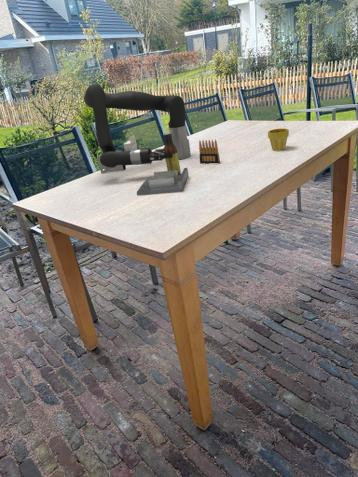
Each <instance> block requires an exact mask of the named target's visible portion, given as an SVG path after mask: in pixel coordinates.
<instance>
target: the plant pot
mask: <svg viewBox="0 0 358 477" xmlns="http://www.w3.org/2000/svg"><path fill="white" fill-rule="evenodd" d="M289 133H290V132H289V128H284V127H283V128H282V127H281V128H273V129H271V130H268V131H267V138H268V139H269V141H270V146H271V147H270V148H271V150H272V149H273V150H272V151H274V150H280V151H283V150H282V149H284V150H285V149H286V146H287V141H288V138H289V135H290V134H289Z"/></svg>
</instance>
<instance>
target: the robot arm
mask: <svg viewBox="0 0 358 477" xmlns="http://www.w3.org/2000/svg"><path fill="white" fill-rule="evenodd" d="M83 101H84V103H85V105H87V107H89V108H91V109H93V116H94V125H95V126H94V127H95V128H94V129H95V134H96V138H97V143H98V147H99V148H100V149H101V151H102V155H101V154H100V155H101V156H100V162H101V164H102V165H104V166H106V167H110V168H114V167H116V166H117V165H125V166H134V165H135V166H138V165H149V164H153V162H159V161H161V162H162V161H163V160H165V159H166V158H172V157H173V154H172V153H165V154H164V147H162V148H156V149H154V151H152V148H150V147H143V148H137V149H134V150H128V151H125V150H120V151H121V152H116V148H115V146H114V142H113V137H112V133H111V130H110V129H111V128H110V125H109V120H108V113H107V112H108V111H107V109H118V110H125V111H126V110H127V111H139V112H141V111H142V112H146V111H147V112H148V111H160V112H165V113H168V114H169V121H168V124H167V125H168V131H169V132H168V133H171V134H172V141H173V144H174V146H175V147H176V149H177V153H178V159H179V160H184V159H188V158H189V157H192V155H191V147H190V139H189V138H188V134H187V128H186V120H187V115H186V114H187V113H186V107H185V101H184V99H183V97H181V96H180V95H177V94H175V95H173V94H172V95H169V94H168V95H154V94H151V93H148V92H143V91H134V90H128V91H127V90H126V91H125V90H124V91H120V92H115V93H108V92H105V90H104V87H103V86H101V85H100V84H97V83H93V84H90V85H89V86H88V87H87V89H86V90H85V93H84V95H83Z"/></svg>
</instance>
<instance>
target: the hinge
mask: <svg viewBox="0 0 358 477" xmlns="http://www.w3.org/2000/svg"><path fill="white" fill-rule="evenodd" d="M121 151H122V150H117V151H116V152H121ZM102 154H103V153H102ZM102 154H97V155H96V157H97V162H98V166H99V171H100V174H105V173H111V172H119V171H121V172H122V171H126V169H127V165H117V166H116V167H114V168H110V167H106V166H104V165H102V164H101V162H100V156H101V155H102Z"/></svg>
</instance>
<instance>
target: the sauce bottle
mask: <svg viewBox="0 0 358 477" xmlns="http://www.w3.org/2000/svg"><path fill="white" fill-rule="evenodd" d="M162 136H163V140H164V141H163V142H164V146H163V148H164V154H165V153H172V154H173V157H172V158H166V159H164V160H165V166H166V169H167V170H166V171H171V170H177V171H178V175H181V174H182V172H181V165H180V159H178V153H177V149H176V147H175V146H174V144H173V141H172V134H171V133H170V132H165V133H163V134H162Z"/></svg>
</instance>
